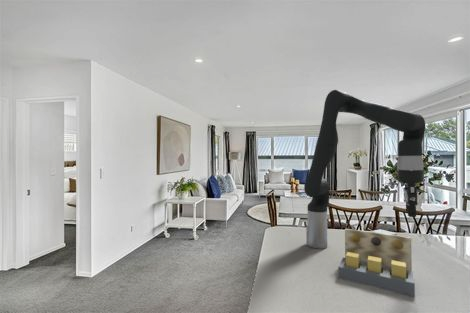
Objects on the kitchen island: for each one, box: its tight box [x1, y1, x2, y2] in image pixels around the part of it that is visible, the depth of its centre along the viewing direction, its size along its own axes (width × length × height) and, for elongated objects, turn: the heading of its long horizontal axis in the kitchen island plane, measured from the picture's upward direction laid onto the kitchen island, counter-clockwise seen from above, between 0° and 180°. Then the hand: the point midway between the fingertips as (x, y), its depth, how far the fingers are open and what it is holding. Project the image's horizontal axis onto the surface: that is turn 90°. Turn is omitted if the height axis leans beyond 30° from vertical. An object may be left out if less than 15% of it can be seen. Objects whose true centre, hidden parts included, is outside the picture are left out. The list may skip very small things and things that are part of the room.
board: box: [337, 257, 416, 297], centre depth 86 cm, size 22×10×4 cm, turn 57°
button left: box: [346, 252, 359, 268], centre depth 89 cm, size 4×4×5 cm
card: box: [344, 228, 413, 271], centre depth 95 cm, size 22×4×14 cm, turn 57°
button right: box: [391, 260, 406, 278], centre depth 82 cm, size 4×4×5 cm
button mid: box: [368, 256, 382, 273], centre depth 86 cm, size 4×4×5 cm
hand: (410, 214), depth 87 cm, fingers open, 8 cm apart
